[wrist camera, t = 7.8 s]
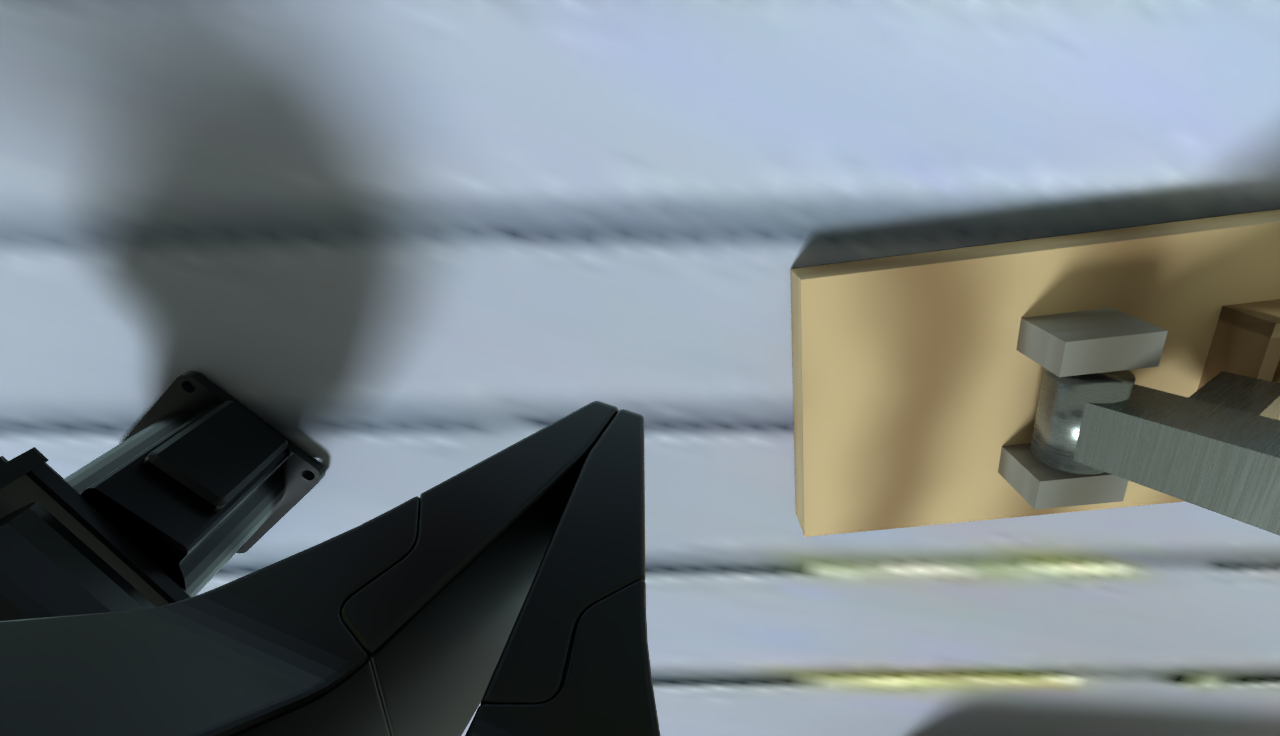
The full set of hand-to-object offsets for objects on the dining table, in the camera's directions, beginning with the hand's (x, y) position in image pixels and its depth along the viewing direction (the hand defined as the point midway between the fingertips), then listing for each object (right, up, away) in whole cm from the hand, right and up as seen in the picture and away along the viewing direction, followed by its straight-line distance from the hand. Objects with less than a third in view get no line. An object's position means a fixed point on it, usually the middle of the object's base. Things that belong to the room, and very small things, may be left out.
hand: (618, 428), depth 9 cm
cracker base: (+16, +1, +13) cm, 21 cm away
